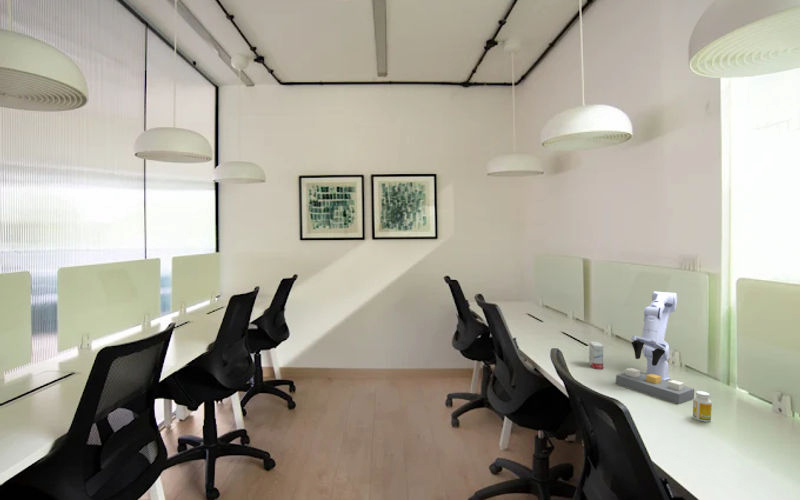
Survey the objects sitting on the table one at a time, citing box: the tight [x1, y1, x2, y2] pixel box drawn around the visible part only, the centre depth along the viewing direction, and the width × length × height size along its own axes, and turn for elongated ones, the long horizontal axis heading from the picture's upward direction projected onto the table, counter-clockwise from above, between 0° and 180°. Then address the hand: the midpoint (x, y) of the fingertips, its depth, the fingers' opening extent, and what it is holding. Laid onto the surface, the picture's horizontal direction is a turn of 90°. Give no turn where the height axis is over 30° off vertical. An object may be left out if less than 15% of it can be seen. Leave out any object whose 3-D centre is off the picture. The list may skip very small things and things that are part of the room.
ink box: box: [588, 341, 604, 370], centre depth 209 cm, size 9×5×12 cm, turn 168°
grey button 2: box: [668, 379, 685, 391], centre depth 169 cm, size 4×4×4 cm
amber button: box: [645, 374, 661, 384], centre depth 176 cm, size 4×4×4 cm
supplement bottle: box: [692, 390, 713, 423], centre depth 149 cm, size 5×5×10 cm
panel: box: [615, 371, 695, 405], centre depth 176 cm, size 12×26×4 cm, turn 30°
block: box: [625, 367, 641, 378], centre depth 184 cm, size 4×4×4 cm
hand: (645, 362), depth 177 cm, fingers open, 7 cm apart
